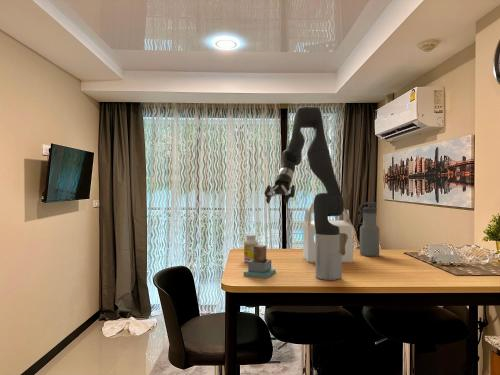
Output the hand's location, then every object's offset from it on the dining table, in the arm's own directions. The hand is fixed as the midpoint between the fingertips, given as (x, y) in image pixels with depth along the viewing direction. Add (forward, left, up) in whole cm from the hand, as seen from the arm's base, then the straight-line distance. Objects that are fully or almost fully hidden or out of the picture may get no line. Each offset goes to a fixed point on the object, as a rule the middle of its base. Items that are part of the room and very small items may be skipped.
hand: (276, 202), depth 155 cm
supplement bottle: (+13, +5, -29) cm, 32 cm away
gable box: (-8, -27, -29) cm, 41 cm away
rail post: (-8, +18, -27) cm, 34 cm away
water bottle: (-15, -54, -29) cm, 63 cm away
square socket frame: (-8, +18, -27) cm, 34 cm away
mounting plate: (-8, +18, -29) cm, 35 cm away
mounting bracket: (-50, -62, -29) cm, 85 cm away
